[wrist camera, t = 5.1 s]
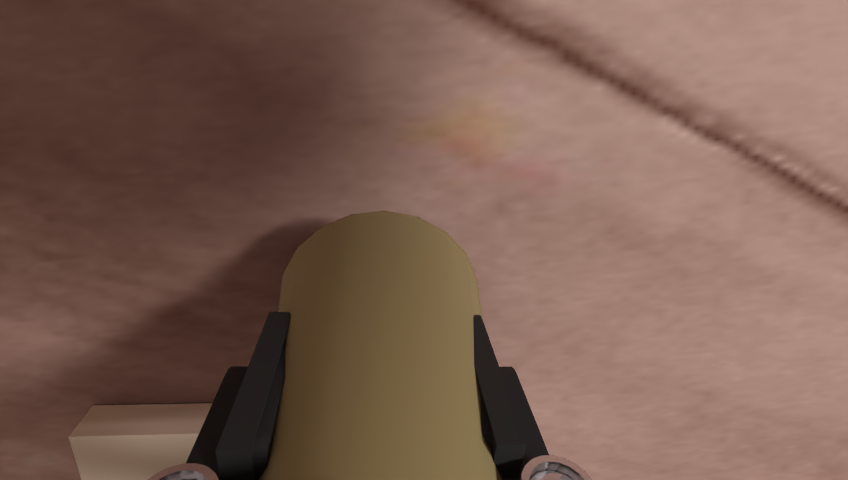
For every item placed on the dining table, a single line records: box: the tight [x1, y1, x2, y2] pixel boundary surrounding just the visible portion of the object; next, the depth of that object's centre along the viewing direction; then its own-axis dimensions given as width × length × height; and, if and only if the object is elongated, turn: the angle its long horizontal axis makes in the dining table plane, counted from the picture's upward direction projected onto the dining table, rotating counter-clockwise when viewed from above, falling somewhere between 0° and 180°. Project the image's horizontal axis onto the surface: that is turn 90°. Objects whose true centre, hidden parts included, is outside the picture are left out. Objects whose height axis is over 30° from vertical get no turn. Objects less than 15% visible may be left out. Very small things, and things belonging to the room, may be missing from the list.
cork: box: [259, 211, 502, 480], centre depth 9 cm, size 6×6×11 cm
